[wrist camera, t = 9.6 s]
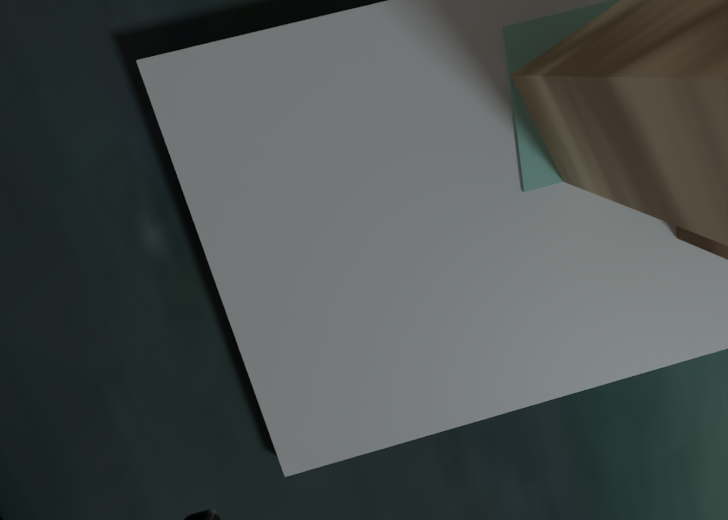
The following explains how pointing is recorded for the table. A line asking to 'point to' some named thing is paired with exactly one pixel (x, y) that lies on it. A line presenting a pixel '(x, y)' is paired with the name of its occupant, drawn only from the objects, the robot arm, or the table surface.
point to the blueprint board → (414, 226)
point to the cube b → (702, 242)
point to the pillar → (641, 109)
